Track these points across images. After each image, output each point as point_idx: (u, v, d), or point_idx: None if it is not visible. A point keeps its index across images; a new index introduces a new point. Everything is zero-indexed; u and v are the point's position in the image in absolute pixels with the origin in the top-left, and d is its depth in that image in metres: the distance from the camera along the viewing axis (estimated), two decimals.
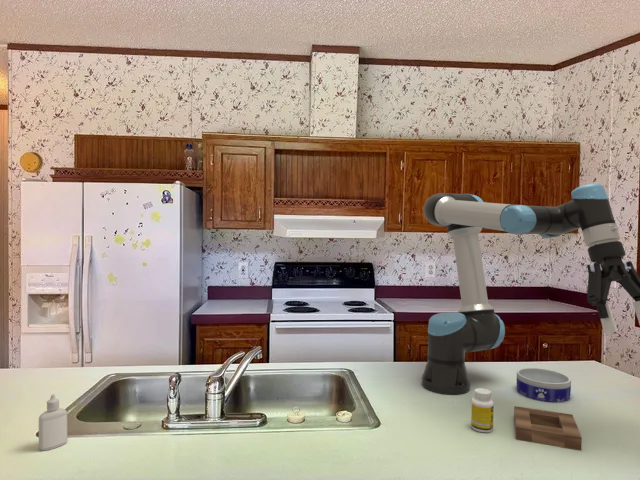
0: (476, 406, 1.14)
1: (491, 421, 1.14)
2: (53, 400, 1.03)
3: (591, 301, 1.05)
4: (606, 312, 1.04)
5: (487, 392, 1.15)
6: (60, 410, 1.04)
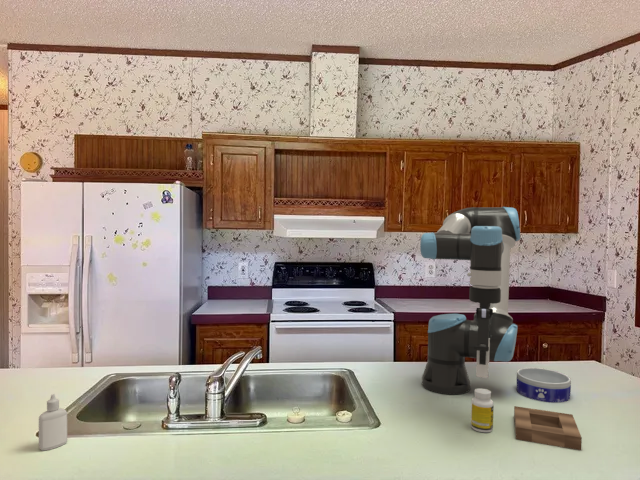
0: (476, 406, 1.14)
1: (491, 421, 1.14)
2: (53, 400, 1.03)
3: None
4: (481, 344, 1.22)
5: (487, 392, 1.15)
6: (60, 410, 1.04)
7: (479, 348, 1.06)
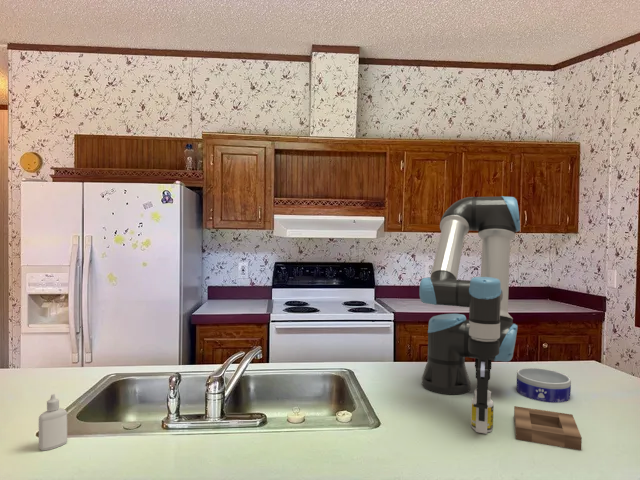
0: None
1: (491, 421, 1.14)
2: (53, 400, 1.03)
3: None
4: None
5: (487, 392, 1.15)
6: (60, 410, 1.04)
7: (479, 407, 1.10)
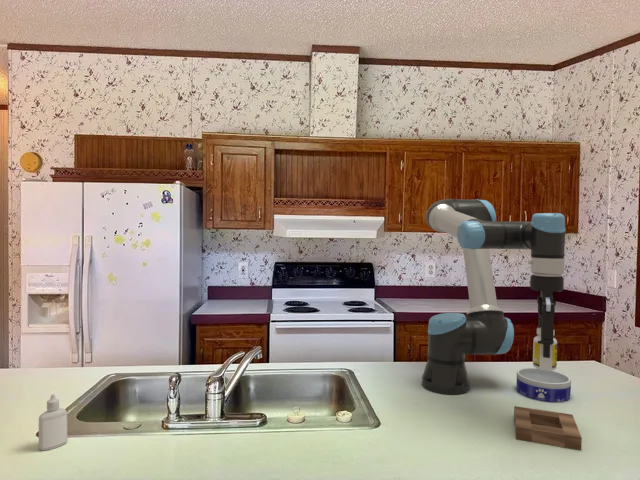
0: None
1: (555, 359, 1.11)
2: (53, 400, 1.03)
3: None
4: None
5: None
6: (60, 410, 1.04)
7: (544, 342, 1.08)
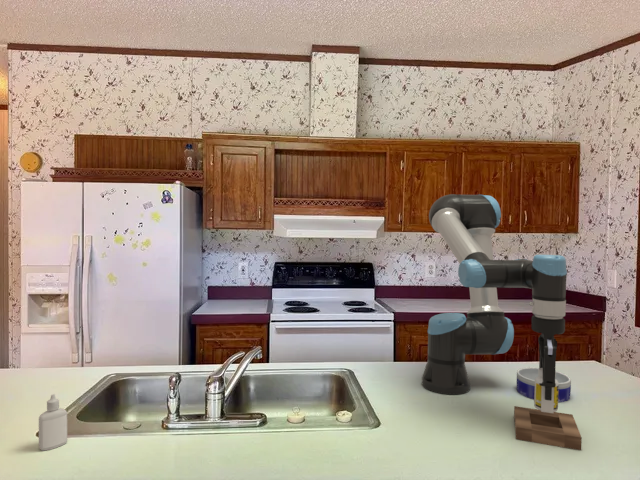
0: None
1: (557, 400, 1.12)
2: (53, 400, 1.03)
3: None
4: None
5: None
6: (60, 410, 1.04)
7: (546, 385, 1.08)
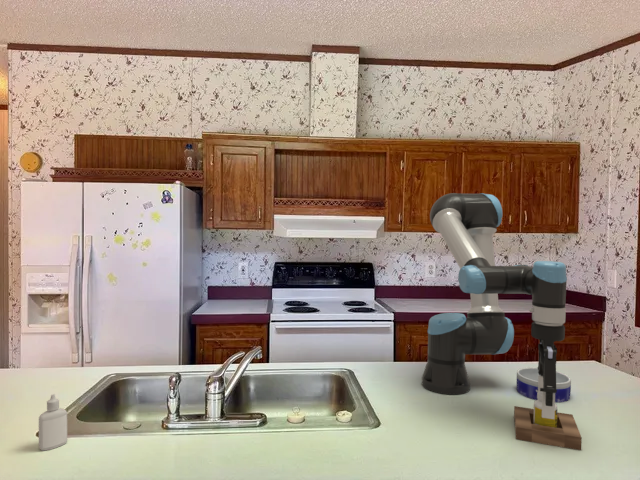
0: (540, 409, 1.12)
1: (555, 424, 1.12)
2: (53, 400, 1.03)
3: None
4: None
5: None
6: (60, 410, 1.04)
7: (547, 391, 1.05)
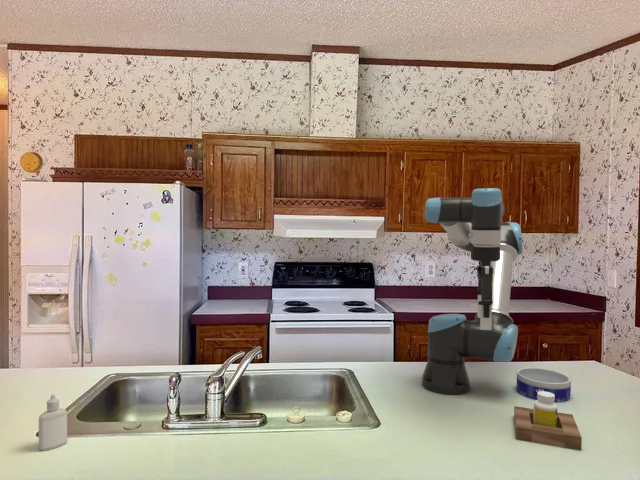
0: (540, 409, 1.12)
1: (555, 424, 1.12)
2: (53, 400, 1.03)
3: None
4: None
5: (551, 395, 1.13)
6: (60, 410, 1.04)
7: (484, 302, 1.13)
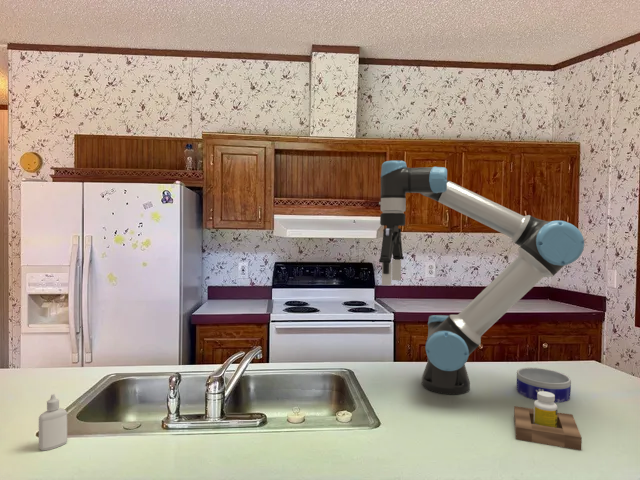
0: (540, 409, 1.12)
1: (555, 424, 1.12)
2: (53, 400, 1.03)
3: None
4: None
5: (551, 395, 1.13)
6: (60, 410, 1.04)
7: (382, 259, 1.27)
